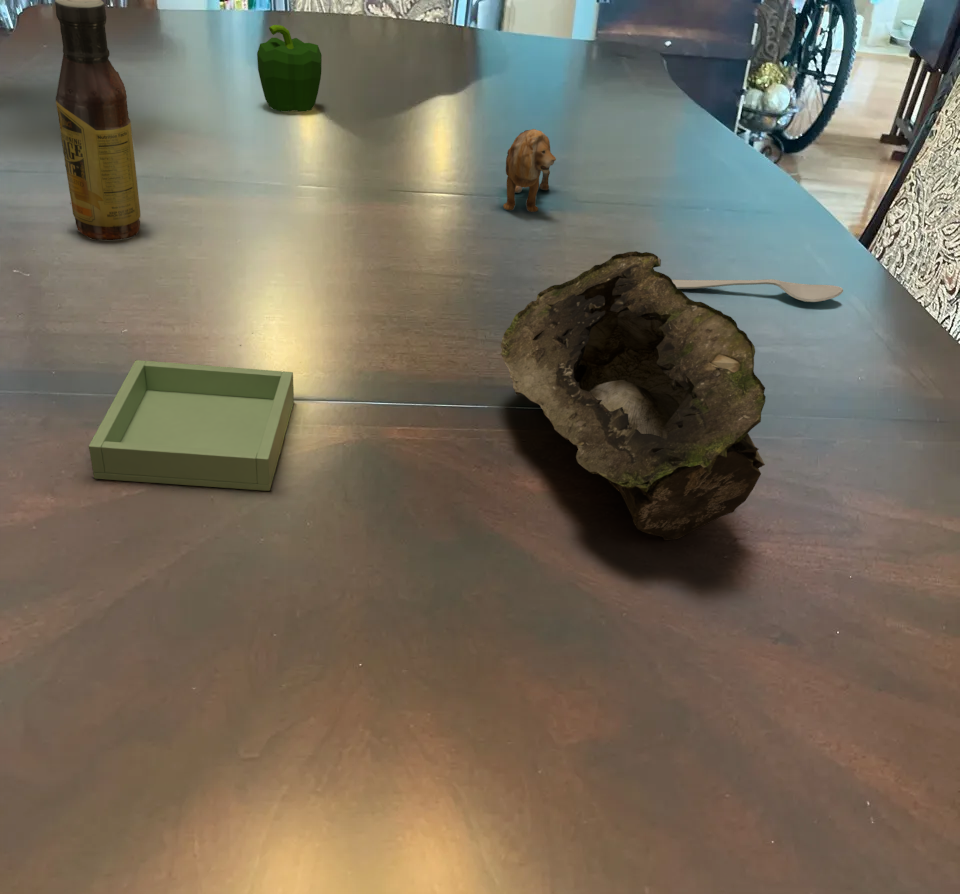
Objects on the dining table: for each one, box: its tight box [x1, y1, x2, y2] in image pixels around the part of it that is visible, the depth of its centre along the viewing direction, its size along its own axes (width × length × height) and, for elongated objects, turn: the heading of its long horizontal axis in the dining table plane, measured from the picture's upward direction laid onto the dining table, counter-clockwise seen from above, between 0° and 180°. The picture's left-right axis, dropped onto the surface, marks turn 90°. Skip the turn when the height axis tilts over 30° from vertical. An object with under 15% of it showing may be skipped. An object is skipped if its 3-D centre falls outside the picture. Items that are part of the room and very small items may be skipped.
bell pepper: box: [256, 24, 323, 113], centre depth 138 cm, size 8×8×10 cm
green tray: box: [88, 359, 295, 492], centre depth 74 cm, size 12×13×2 cm
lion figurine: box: [502, 128, 557, 213], centre depth 118 cm, size 15×5×9 cm, turn 176°
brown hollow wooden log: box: [500, 250, 766, 541], centre depth 73 cm, size 28×13×15 cm
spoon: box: [671, 278, 844, 303], centre depth 104 cm, size 4×21×2 cm, turn 88°
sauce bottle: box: [54, 0, 141, 242], centre depth 96 cm, size 7×6×20 cm
